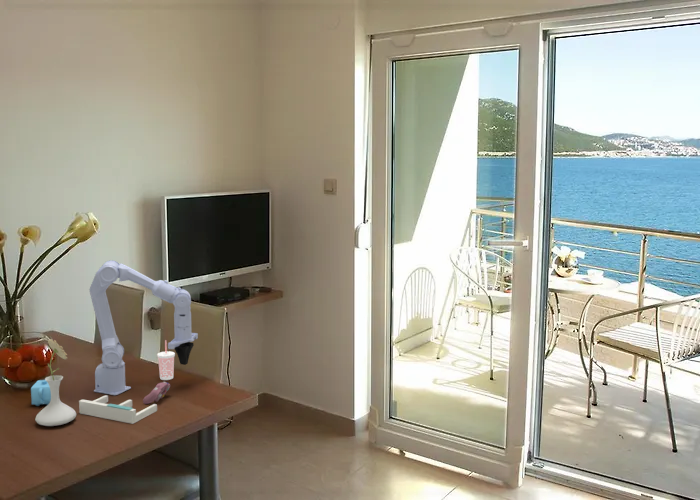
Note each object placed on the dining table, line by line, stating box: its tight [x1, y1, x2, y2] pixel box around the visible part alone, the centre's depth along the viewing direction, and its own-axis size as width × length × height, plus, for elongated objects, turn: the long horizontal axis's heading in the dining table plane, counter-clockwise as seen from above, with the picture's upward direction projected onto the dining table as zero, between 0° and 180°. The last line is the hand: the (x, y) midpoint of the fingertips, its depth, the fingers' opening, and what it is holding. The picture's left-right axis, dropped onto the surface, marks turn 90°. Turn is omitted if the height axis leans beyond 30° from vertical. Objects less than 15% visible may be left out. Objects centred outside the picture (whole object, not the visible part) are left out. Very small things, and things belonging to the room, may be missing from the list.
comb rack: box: [78, 394, 158, 425], centre depth 216 cm, size 20×12×4 cm, turn 68°
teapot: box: [30, 379, 51, 407], centre depth 224 cm, size 12×6×8 cm, turn 8°
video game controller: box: [142, 380, 171, 405], centre depth 227 cm, size 10×5×7 cm, turn 169°
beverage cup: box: [156, 339, 176, 381], centre depth 248 cm, size 6×6×14 cm
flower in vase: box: [35, 338, 77, 427], centre depth 207 cm, size 13×11×25 cm
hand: (183, 364), depth 239 cm, fingers closed
